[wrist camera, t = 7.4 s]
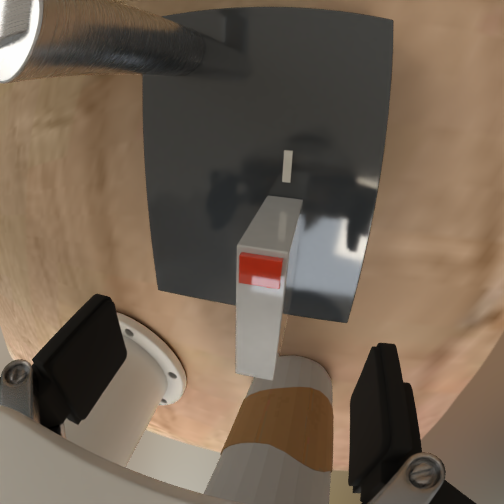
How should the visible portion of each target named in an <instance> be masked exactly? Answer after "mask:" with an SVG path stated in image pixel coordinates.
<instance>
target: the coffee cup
mask: <svg viewBox="0 0 504 504" xmlns="http://www.w3.org/2000/svg"><path fill="white" fill-rule="evenodd" d="M332 464H333V408H332V381H331V378H330V377H329V375H328V373H327V372H326V370H325V369H324V368H323V367H322V366H321V365H320V364H319V363H317V362H315V361H313V360H311V359H308V358H305V357H301V356H293V355H290V356H280V357H279V359H278V363H277V367H276V371H275V375H274V379H273V380H266V379H261V378H256V377H254V378H253V381H252V383H251V386H250V388H249V391H248V393H247V396H246V398H245V399H244V401H243V403H242V405H241V408H240V410H239V412H238V415H237V417H236V419H235V422H234V424H233V426H232V429H231V431H230V433H229V436H228V438H227V440H226V442H225V445H224V447H223V449H222V451H221V457H220V459H219V461H218V463H217V466H216V468H215V470H214V473H213V474H212V477H211V479H210V481H209V483H208V485H207V488H206V490H205V492H204V494H205V495H209V496H213V497H217V498H221V499H225V500H230V501H234V502H239V503H244V504H329V495H330V493H329V492H330V477H331V472H332Z"/></svg>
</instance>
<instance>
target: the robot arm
mask: <svg viewBox="0 0 504 504" xmlns="http://www.w3.org/2000/svg"><path fill="white" fill-rule="evenodd" d="M32 360H33V362H34V364H33V365H32V366H31V364H30V363H29V362H28V361H26V360H22V359H21V360H15V361H12V362H11V363H9V364H8V365H7V366H6V367H5V368H4V370H3V371H2V374H1V377H0V504H244V503H239V502H234V501H230V500H225V499H221V498H217V497H213V496H209V495H205V494H201V493H197V492H194V491H191V490H187V489H184V488H180V487H177V486H174V485H171V484H168V483H165V482H162V481H159V480H156V479H154V478H151V477H148V476H145V475H142V474H140V473H138V472H135V471H132V470H130V469H128V468H125V467H126V465H127V463H128V461H129V459H130V457H131V455H132V454H133V452H134V450H135V448H136V446H137V444H138V443H139V441H140V439H141V437H142V435H143V433H144V431H145V430H146V428H147V426H148V424H149V422H150V420H151V418H152V416H153V415H154V413H155V411H156V409H157V407H158V405H168V404H172V403H175V402H176V401H178V400H179V399H180V398H181V396H182V395H183V392H184V390H185V388H186V381H187V379H186V375H185V371H184V369H183V367H182V365H181V363H180V361H179V360H178V358H177V357H176V355H175V354H174V353H173V351H172V350H171V349H170V348H169V347H168V346H167V345H166V343H164V342H163V341H162V340H161V339H160V338H159V337H158V336H157V335H156V334H155V333H153V332H152V331H150V330H149V329H148V328H146V327H145V326H144V325H142V324H140V323H139V322H137V321H135V320H134V319H132V318H130V317H128V316H125V315H123V314H121V313H118V312H116V308H115V304H114V302H112V300H111V298H110V297H108V296H104V295H100V294H95V295H93V296H92V297H91V298H90V299H89V300H88V301H87V302H86V303H85V304H84V305H83V306H82V307H81V308H80V309H79V310H78V311H77V312H76V313H75V314H74V315H73V316H72V317H71V319H70V320H69V321H68V322H67V323H66V324H65V325H64V326H63V327H62V328H61V329H60V330H59V331H58V332H57V333H56V334H55V335H54V336H53V337H52V338H51V339H50V340H49V342H48V343H47V344H46V345H45V346H44V347H43V348H42V349H41V350H40V351H39V352H38V353H37V355H36V356H35V357H34V358H33V359H32ZM445 473H446V471H445V467H444V464H443V463H442V461H441V460H440V459H439V458H438V457H437V456H435V455H433V454H431V453H425V452H422V448H421V440H420V433H419V426H418V420H417V414H416V408H415V402H414V396H413V391H412V387H411V385H410V383H403V379H402V373H401V368H400V363H399V358H398V353H397V348H396V345H395V344H387V343H378V345H377V347H372V348H371V350H370V353H369V355H368V358H367V360H366V363H365V365H364V368H363V370H362V373H361V375H360V378H359V380H358V382H357V385H356V387H355V389H354V391H353V394H352V396H351V401H350V456H349V479H348V483H349V486H353V493H361V498H360V501H361V502H362V504H476V503H474V502H473V501H472V500H471V499H469V498H468V497H467V496H465V495H464V494H462V493H461V492H460V491H459V490H457V489H456V488H455V487H453V486H452V485H451V484H449V483H448V482H447V481H446V480H444V479H445Z"/></svg>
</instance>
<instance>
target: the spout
mask: <svg viewBox="0 0 504 504" xmlns="http://www.w3.org/2000/svg"><path fill="white" fill-rule="evenodd" d="M204 53H205V44H204V41H203V38H202V37H201V35H200V34H199V33H198V32H197V31H195V30H193V29H191V28H189V27H186V26H184V25H181V24H179V23H176V22H173V21H171V20H168V19H165V18H163V17H160V16H157V15H154V14H151V13H148V12H145V11H142V10H139V9H136V8H133V7H130V6H126V5H123V4H120V3H116V2H112V1H109V0H0V83H3V84H5V83H12V82H18V81H25V80H33V79H41V78H51V77H62V76H76V75H98V74H141V75H164V76H183V75H186V74H189V73H190V72H192V71H193V70H195V69H196V68H197V67H198V66H199V64H200V63H201V61H202V59H203V57H204Z"/></svg>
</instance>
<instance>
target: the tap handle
mask: <svg viewBox="0 0 504 504" xmlns="http://www.w3.org/2000/svg"><path fill="white" fill-rule="evenodd" d="M302 207H303V200H301V199H293V198H285V197H277V196H267V197H266V199H265V201H264V202H263V204H262V205H261V207H260V209H259V210H258V212H257V213H256V215H255V217H254V218H253V220H252V222H251V223H250V225H249V226H248V228H247V230H246V231H245V233H244V235H243V236H242V238H241V240H240V241H239V243H238V244H237V264H236V373H237V374H241V375H246V376H251V377H256V378H261V379H266V380H273V379H274V375H275V371H276V367H277V363H278V359H279V354H280V350H281V346H282V342H283V337H284V333H285V329H286V324H287V320H288V315H289V311H290V305H291V298H292V290H293V283H294V275H295V267H296V259H297V251H298V243H299V234H300V225H301V216H302Z"/></svg>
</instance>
